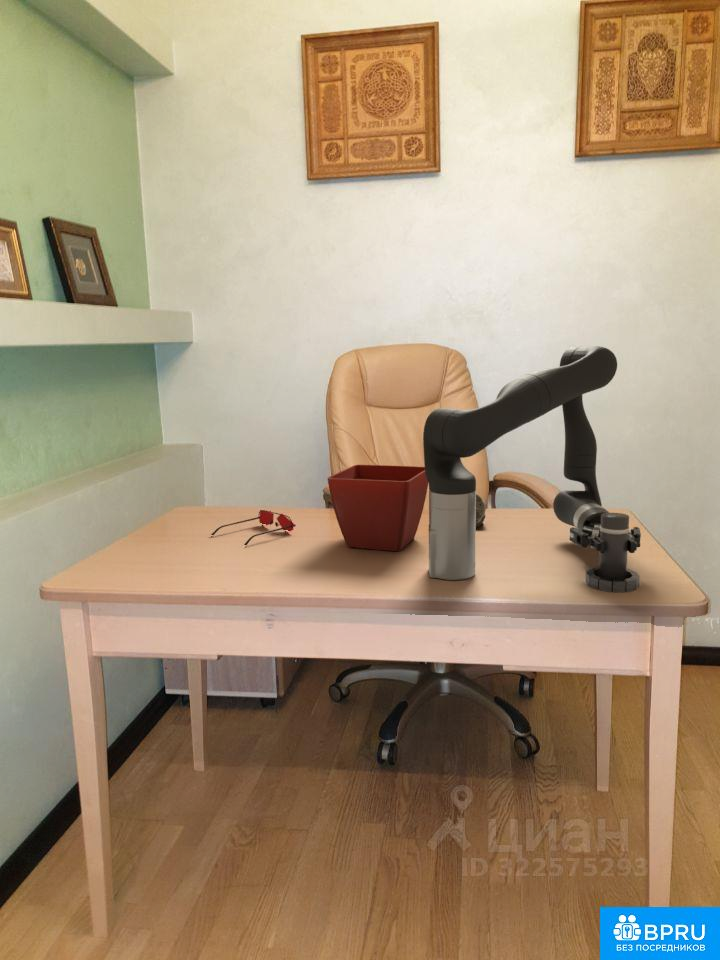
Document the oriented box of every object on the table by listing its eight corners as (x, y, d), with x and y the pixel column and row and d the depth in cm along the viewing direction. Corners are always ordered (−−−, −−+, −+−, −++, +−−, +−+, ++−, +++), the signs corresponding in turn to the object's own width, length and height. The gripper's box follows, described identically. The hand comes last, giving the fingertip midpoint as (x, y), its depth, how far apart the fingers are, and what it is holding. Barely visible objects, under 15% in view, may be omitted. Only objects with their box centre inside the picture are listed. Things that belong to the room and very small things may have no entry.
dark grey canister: (601, 581, 142) (604, 519, 139) (595, 572, 147) (597, 512, 144) (630, 581, 141) (633, 519, 139) (622, 572, 146) (625, 512, 144)
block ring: (593, 592, 140) (593, 581, 140) (581, 576, 149) (581, 566, 149) (644, 592, 139) (645, 581, 139) (629, 575, 149) (630, 566, 148)
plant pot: (357, 529, 188) (355, 463, 185) (431, 535, 181) (431, 466, 178) (327, 550, 170) (325, 477, 167) (409, 557, 164) (408, 481, 161)
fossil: (452, 530, 183) (444, 491, 186) (441, 538, 192) (434, 501, 195) (493, 525, 186) (485, 486, 188) (481, 534, 194) (473, 497, 197)
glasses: (297, 535, 185) (296, 515, 184) (242, 549, 174) (241, 528, 173) (261, 526, 195) (261, 507, 194) (208, 539, 184) (206, 519, 183)
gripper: (560, 507, 156) (579, 528, 140) (631, 506, 156) (658, 528, 139) (559, 542, 158) (578, 567, 141) (629, 541, 157) (656, 567, 140)
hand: (617, 547), depth 140 cm, fingers closed on dark grey canister, 5 cm apart
